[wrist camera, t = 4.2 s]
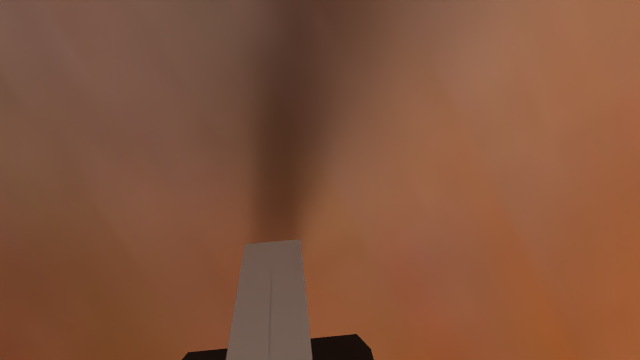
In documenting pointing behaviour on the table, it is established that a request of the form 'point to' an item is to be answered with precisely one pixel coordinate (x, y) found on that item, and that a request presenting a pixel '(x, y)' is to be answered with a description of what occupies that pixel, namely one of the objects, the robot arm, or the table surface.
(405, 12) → the table surface
